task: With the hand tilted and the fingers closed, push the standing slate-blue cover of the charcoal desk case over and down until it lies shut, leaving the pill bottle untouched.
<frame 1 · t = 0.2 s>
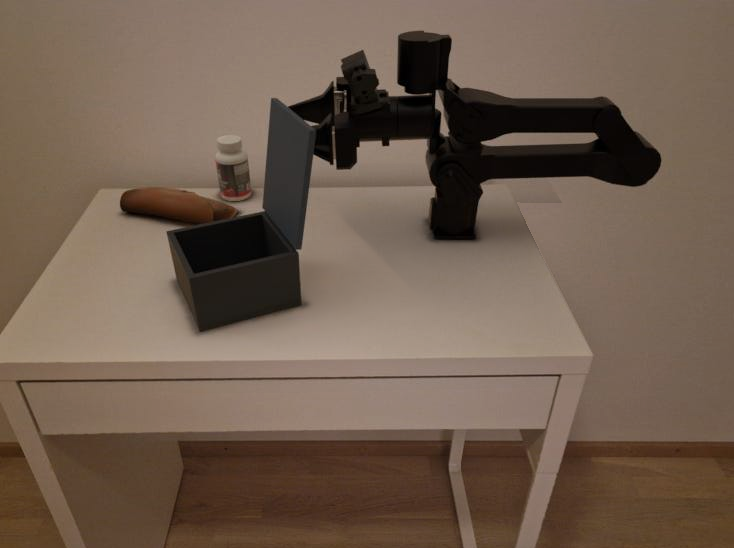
hand: (283, 123, 83), 16 cm above the table, tool horizontal, fingers open, 9 cm apart
pill bottle: (236, 196, 103), on the table
cover: (286, 173, 72), point 15 cm above the table, hinge at 100.0°
desk case: (237, 293, 80), on the table
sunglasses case: (181, 214, 98), on the table
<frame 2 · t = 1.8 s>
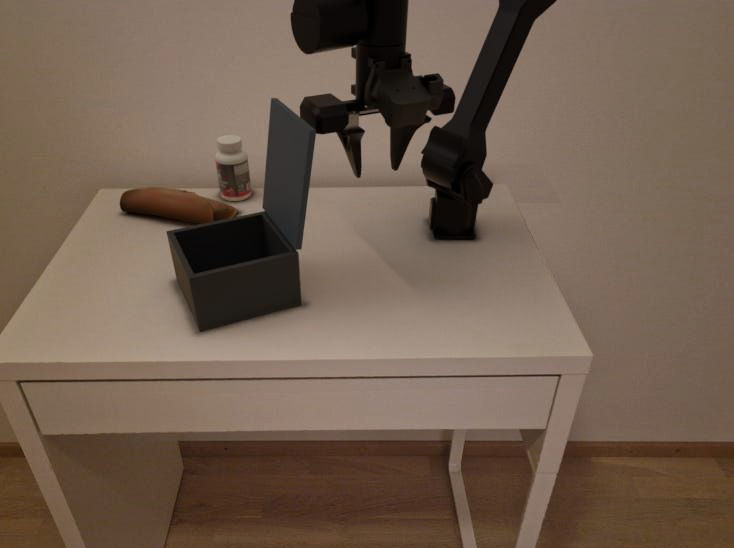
hand: (376, 173, 78), 13 cm above the table, tool pointing down, fingers open, 5 cm apart
nothing on the table moved.
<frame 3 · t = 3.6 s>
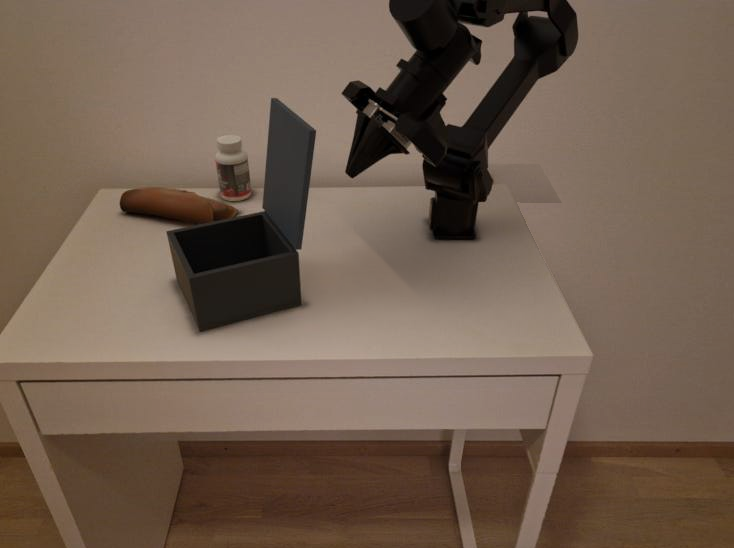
hand: (348, 175, 76), 13 cm above the table, tool tilted 45°, fingers closed
nothing on the table moved.
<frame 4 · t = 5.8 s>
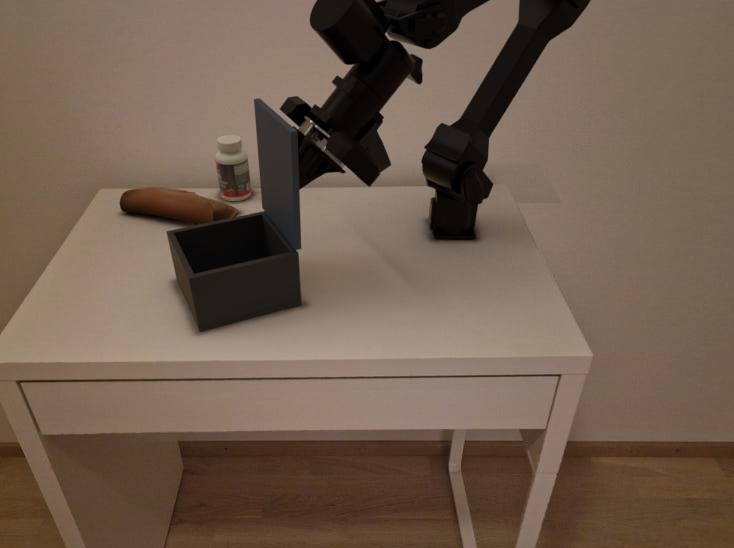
hand: (284, 194, 74), 13 cm above the table, tool tilted 45°, fingers closed, pressing on cover
cover: (277, 174, 72), point 15 cm above the table, hinge at 91.0°, touching gripper
everything else where it was.
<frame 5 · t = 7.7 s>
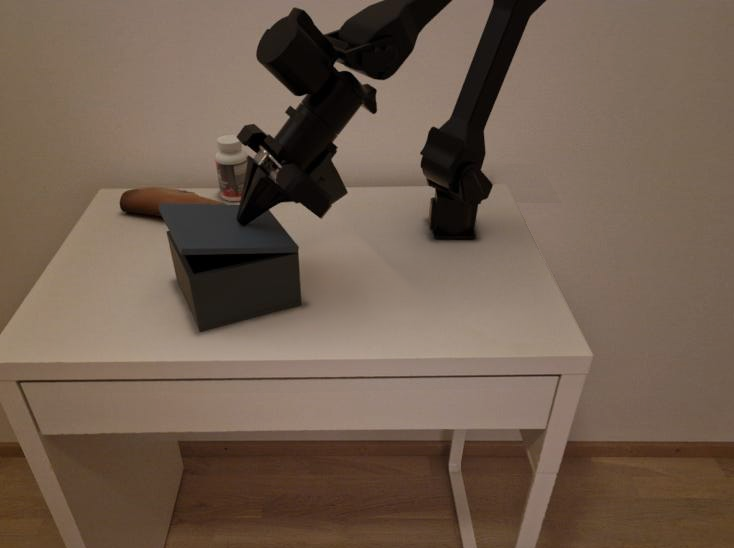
hand: (240, 223, 74), 10 cm above the table, tool tilted 45°, fingers closed, pressing on cover
cover: (227, 227, 73), point 10 cm above the table, hinge at 12.5°, touching gripper
everything else where it was.
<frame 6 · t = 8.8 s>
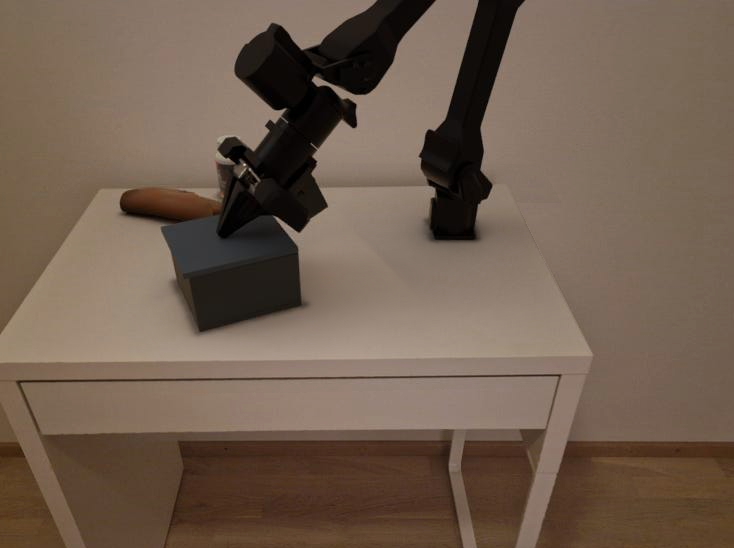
hand: (219, 235, 74), 9 cm above the table, tool tilted 45°, fingers closed, pressing on cover
cover: (227, 239, 74), point 8 cm above the table, hinge at -0.2°, touching desk case, gripper
everything else where it was.
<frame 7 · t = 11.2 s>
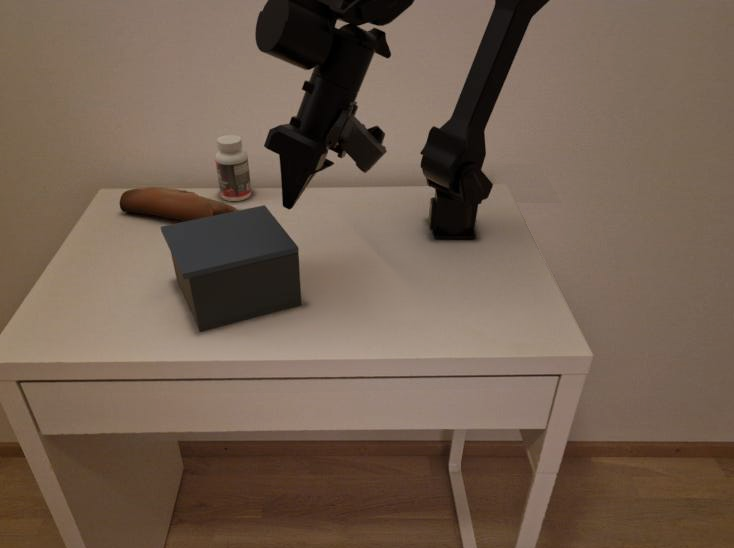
hand: (287, 207, 75), 11 cm above the table, tool tilted 25°, fingers closed
cover: (227, 239, 74), point 8 cm above the table, hinge at -0.2°, touching desk case
everything else where it was.
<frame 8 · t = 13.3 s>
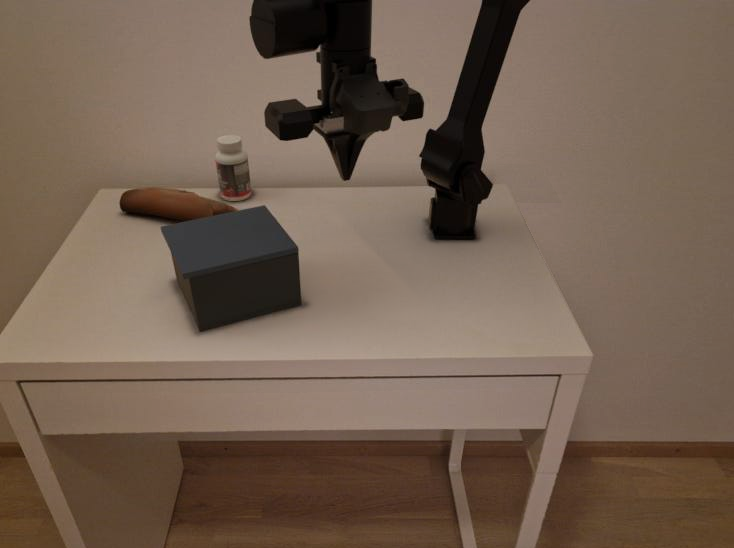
hand: (345, 179, 76), 13 cm above the table, tool pointing down, fingers closed
nothing on the table moved.
at the end: cover at +0° (first picture: +100°); pill bottle moved 0.2 cm from its start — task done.
